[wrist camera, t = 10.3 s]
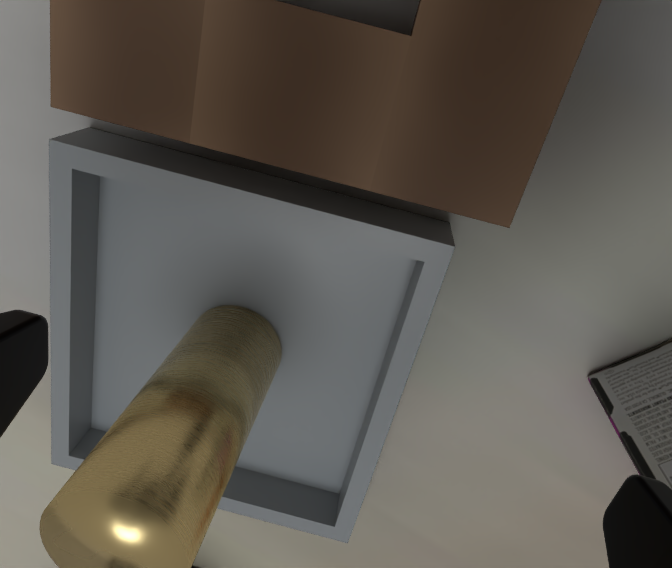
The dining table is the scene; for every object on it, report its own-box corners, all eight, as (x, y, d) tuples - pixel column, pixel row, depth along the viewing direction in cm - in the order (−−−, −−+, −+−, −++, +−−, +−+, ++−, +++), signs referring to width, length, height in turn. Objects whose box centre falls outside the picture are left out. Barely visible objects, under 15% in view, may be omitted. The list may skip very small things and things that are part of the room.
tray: (449, 223, 20) (455, 246, 18) (352, 499, 26) (347, 543, 24) (89, 127, 20) (49, 139, 18) (81, 427, 27) (51, 463, 24)
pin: (289, 319, 22) (195, 517, 13) (273, 396, 23) (181, 618, 14) (195, 294, 22) (36, 473, 13) (187, 372, 24) (41, 577, 15)
